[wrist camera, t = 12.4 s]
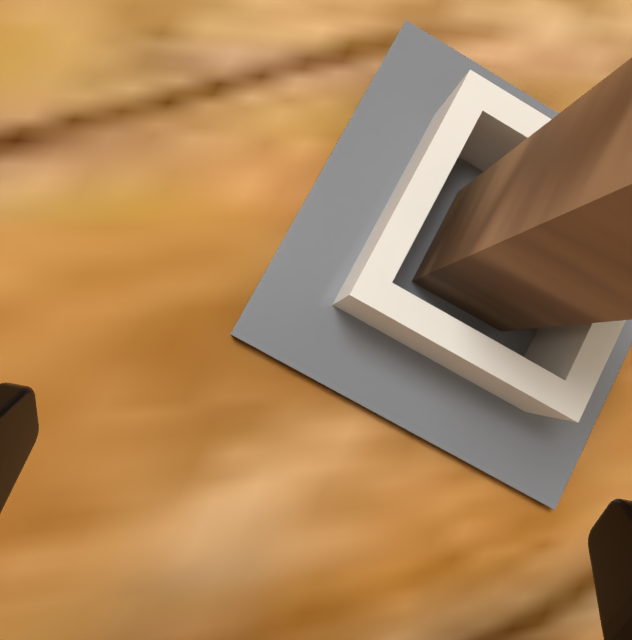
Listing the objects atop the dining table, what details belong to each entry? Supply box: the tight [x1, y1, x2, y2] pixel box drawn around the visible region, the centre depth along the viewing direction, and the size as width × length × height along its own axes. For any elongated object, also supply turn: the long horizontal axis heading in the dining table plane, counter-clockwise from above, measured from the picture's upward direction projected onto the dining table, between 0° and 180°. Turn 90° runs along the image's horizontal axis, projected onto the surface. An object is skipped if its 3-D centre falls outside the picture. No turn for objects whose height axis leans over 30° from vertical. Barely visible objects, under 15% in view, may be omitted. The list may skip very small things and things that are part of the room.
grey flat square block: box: [231, 20, 632, 510], centre depth 20 cm, size 14×14×4 cm
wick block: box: [412, 58, 632, 331], centre depth 15 cm, size 4×4×12 cm
